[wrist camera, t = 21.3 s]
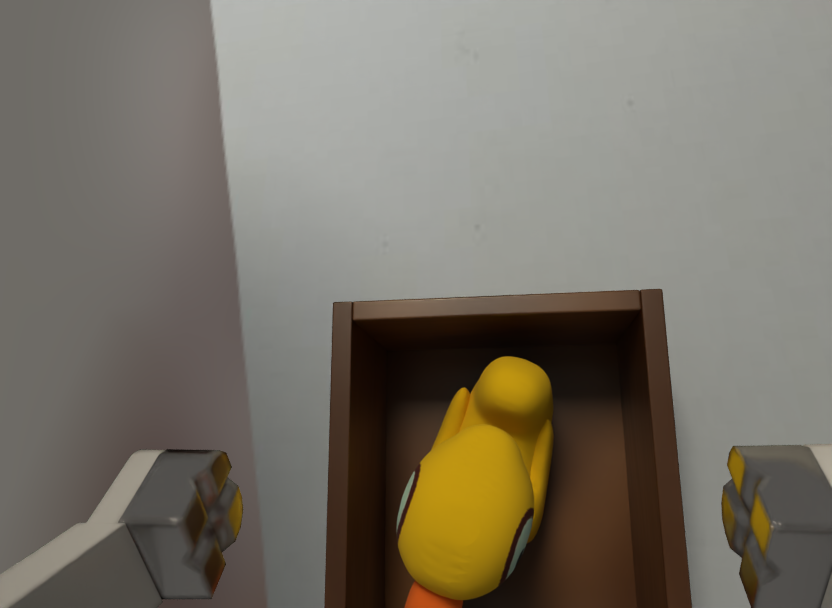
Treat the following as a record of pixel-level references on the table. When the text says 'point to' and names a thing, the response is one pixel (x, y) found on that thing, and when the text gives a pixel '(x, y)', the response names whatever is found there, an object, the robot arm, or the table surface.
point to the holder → (571, 457)
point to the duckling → (479, 487)
